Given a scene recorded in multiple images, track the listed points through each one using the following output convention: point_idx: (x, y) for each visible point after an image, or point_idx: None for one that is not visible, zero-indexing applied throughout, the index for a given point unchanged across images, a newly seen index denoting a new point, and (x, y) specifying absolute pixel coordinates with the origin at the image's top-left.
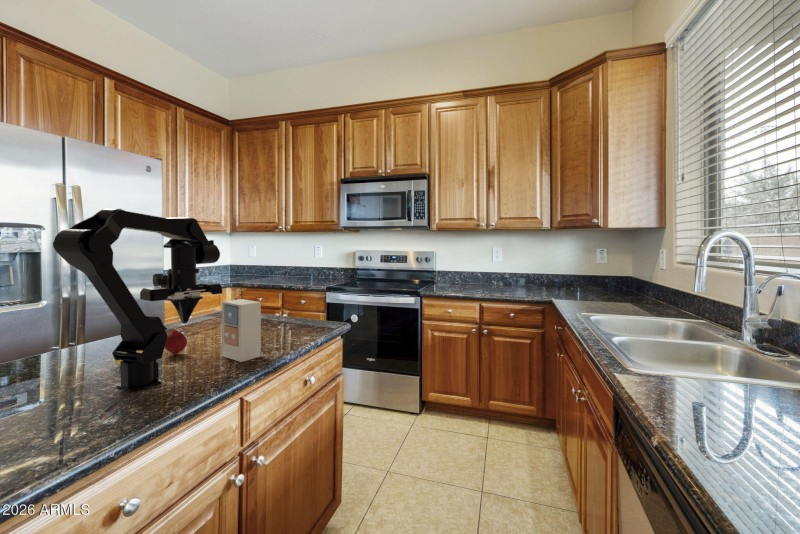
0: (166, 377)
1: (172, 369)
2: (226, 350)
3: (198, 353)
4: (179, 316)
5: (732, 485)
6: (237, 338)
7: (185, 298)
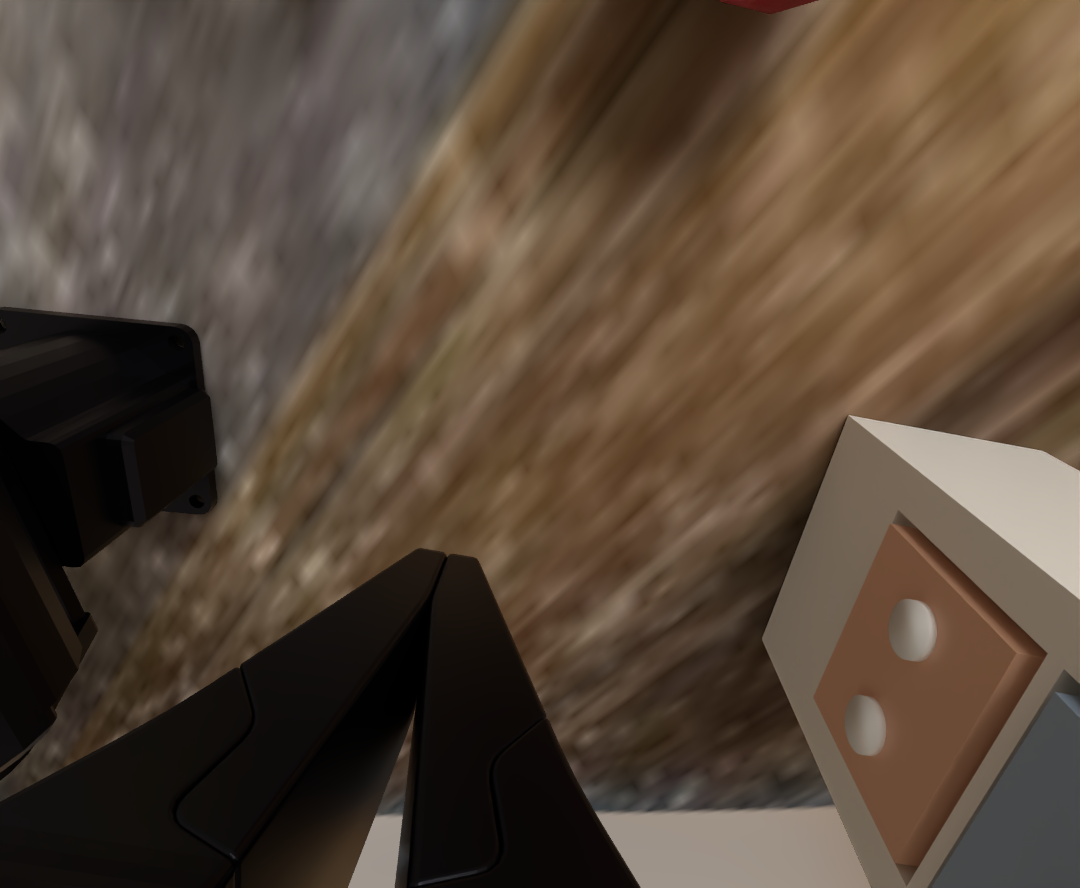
0: (295, 441)
1: (419, 327)
2: (851, 505)
3: (868, 118)
4: (339, 608)
5: None
6: (847, 756)
7: None
